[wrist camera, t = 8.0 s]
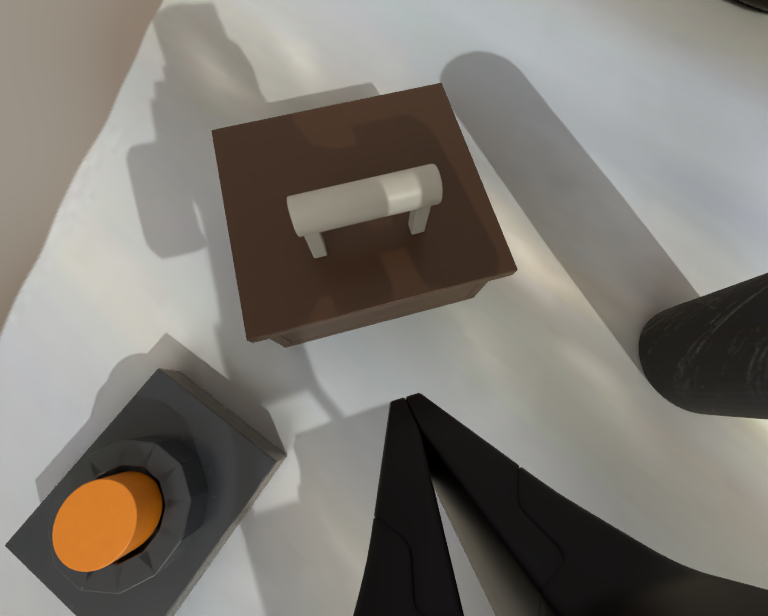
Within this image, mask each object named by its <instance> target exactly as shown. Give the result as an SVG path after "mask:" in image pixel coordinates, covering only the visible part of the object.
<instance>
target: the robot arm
mask: <svg viewBox="0 0 768 616" xmlns="http://www.w3.org/2000/svg"><path fill="white" fill-rule="evenodd" d="M433 486H434V487H433ZM434 488H435V491H436V493H437V495H438V497H439V499H440V501H441V503H442V505H443V507H444V509H445V511H446V513H447V515H448V517H449V519H450V522H451V524H452V526H453V528H454V530H455V532H456V534H457V536H458V538H459V540H460V542H461V544H462V546H463V548H464V551H465V553H466V555H467V557H468V559H469V561H470V563H471V565H472V567H473V569H474V571H475V573H476V575H477V577H478V579H479V582H480V584H481V586H482V588H483V590H484V592H485V594H486V596H487V598H488V600H489V602H490V604H491V606H492V608H493V610H494V613H495V615H496V616H768V590H766V589H762V588H759V587H755V586H751V585H747V584H744V583H740V582H736V581H732V580H728V579H725V578H721V577H717V576H713V575H710V574H706V573H703V572H700V571H697V570H694V569H692V568H689V567H687V566H684V565H682V564H680V563H677V562H675V561H673V560H671V559H669V558H667V557H665V556H663V555H661V554H659V553H657V552H656V551H654V550H652V549H650V548H649V547H647V546H645V545H644V544H642V543H640V542H639V541H637V540H635V539H634V538H632V537H630V536H628V535H627V534H625V533H623V532H622V531H620V530H618V529H617V528H615V527H613V526H612V525H610V524H608V523H607V522H605V521H603V520H602V519H600V518H598V517H597V516H595V515H593V514H592V513H590V512H588V511H586V510H585V509H583V508H582V507H580V506H578V505H577V504H575V503H573V502H572V501H570V500H569V499H567V498H565V497H564V496H562V495H561V494H559V493H557V492H556V491H554V490H553V489H552V488H550V487H549V486H547V485H546V484H544V483H543V482H541V481H540V480H539V479H537V478H536V477H534V476H533V475H532V474H530V473H529V472H528V471H526V470H525V469H523V468H522V467H520V468H519V465H518V464H516V463H515V462H514V461H512V460H511V459H510V458H508V457H507V456H505V455H504V454H503V453H501V452H500V451H499V450H497V449H496V448H495V447H493V446H492V445H490V444H489V443H488V442H486V441H485V440H484V439H482V438H481V437H479V436H478V435H477V434H475V433H474V432H473V431H471V430H470V429H469V428H467V427H466V426H464V425H463V424H462V423H460V422H459V421H458V420H456V419H455V418H453V417H452V416H451V415H449V414H448V413H447V412H445V411H444V410H442V409H441V408H440V407H438V406H437V405H436V404H434V403H433V402H432V401H430V400H429V399H427V398H426V397H425V396H423V395H422V394H420V393H417V394H414V395H410V396H407V397H406V399H405V398H400V399H397V400H394V401H392V402H391V403H390V408H389V415H388V422H387V429H386V436H385V443H384V450H383V457H382V464H381V471H380V478H379V485H378V492H377V500H376V507H375V514H374V516H375V518H374V519H373V526H372V533H371V539H370V545H369V551H368V557H367V562H366V566H365V571H364V575H363V579H362V584H361V588H360V592H359V596H358V600H357V604H356V607H355V611H354V615H353V616H464V614H463V609H462V605H461V601H460V597H459V592H458V588H457V584H456V580H455V575H454V571H453V567H452V563H451V559H450V554H449V550H448V546H447V542H446V537H445V533H444V529H443V525H442V521H441V516H440V512H439V508H438V504H437V499H436V495H435V491H434Z"/></svg>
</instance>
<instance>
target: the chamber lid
mask: <svg viewBox="0 0 768 616" xmlns="http://www.w3.org/2000/svg"><path fill="white" fill-rule="evenodd" d="M212 136H213V142H214V148H215V154H216V160H217V166H218V172H219V178H220V184H221V190H222V196H223V202H224V208H225V213H226V219H227V225H228V231H229V237H230V243H231V249H232V255H233V261H234V267H235V273H236V279H237V285H238V291H239V296H240V302H241V308H242V314H243V320H244V326H245V332H246V338H247V341H249V342H252V343H254V342H258V341H262V340H266V339H269V338H273V337H277V336H281V335H285V334H288V333H292V332H296V331H300V330H304V329H308V328H311V327H315V326H319V325H323V324H327V323H330V322H334V321H338V320H342V319H346V318H350V317H353V316H357V315H361V314H365V313H369V312H372V311H376V310H380V309H384V308H388V307H392V306H395V305H399V304H403V303H407V302H411V301H414V300H418V299H422V298H426V297H430V296H434V295H437V294H441V293H445V292H449V291H453V290H456V289H460V288H464V287H468V286H472V285H476V284H479V283H483V282H487V281H491V280H495V279H498V278H502V277H506V276H510V275H513V274H514V273H515V272H516V271H517V267H516V265H515V262H514V260H513V257H512V255H511V252H510V250H509V247H508V245H507V242H506V240H505V238H504V235H503V233H502V230H501V228H500V225H499V223H498V220H497V218H496V216H495V213H494V211H493V208H492V206H491V203H490V201H489V198H488V196H487V193H486V191H485V189H484V186H483V184H482V181H481V179H480V176H479V174H478V171H477V169H476V167H475V164H474V162H473V159H472V157H471V154H470V152H469V149H468V147H467V145H466V142H465V140H464V137H463V135H462V132H461V130H460V127H459V125H458V122H457V120H456V118H455V115H454V113H453V110H452V108H451V105H450V103H449V100H448V98H447V96H446V93H445V91H444V88H443V86H442V83H438V84H433V85H428V86H423V87H419V88H414V89H409V90H404V91H399V92H394V93H390V94H385V95H380V96H375V97H370V98H365V99H360V100H356V101H351V102H346V103H341V104H336V105H331V106H327V107H322V108H317V109H312V110H307V111H302V112H297V113H293V114H288V115H283V116H278V117H273V118H268V119H264V120H259V121H254V122H249V123H244V124H239V125H235V126H230V127H225V128H220V129H215V130H212Z"/></svg>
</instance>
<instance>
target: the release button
mask: <svg viewBox="0 0 768 616" xmlns="http://www.w3.org/2000/svg"><path fill="white" fill-rule="evenodd" d="M161 513H162V495H161V491H160V489H159V487H158V485H157V483H156V482H155V481H154V480H153V479H152V478H151V477H150V476H148V475H146V474H144V473H142V472H138V471H126V472H122V473H118V474H115V475H111V476H108V477H104V478H100V479H97V480H93V481H90V482H88V483H86V484H84V485H82V486H80V487H79V488H78V489H76V490H75V491H74V492H73V493H72V494H71V495H70V496H69V497H68V498H67V499H66V500H65V502H64V503H63V504H62V506H61V508H60V509H59V511H58V513H57V516H56V519H55V522H54V526H53V536H52V539H53V546H54V549H55V552H56V554H57V556H58V558H59V559H60V560H61V562H62V563H63V564H65V565H66V566H67V567H69V568H71V569H73V570H76V571H81V572H89V571H95V570H99V569H101V568H104V567H106V566H107V565H109V564H111V563H112V562H114V561H116V560H117V559H119V558H121V557H122V556H124V555H126V554H127V553H129V552H131V551H132V550H134V549H136V548H137V547H139V546H140V545H142V544H143V543H144V542H145V541H146V540H147V539H148V538H149V537H150V536H151V535H152V533H153V532H154V530H155V528H156V527H157V525H158V522H159V520H160V517H161Z"/></svg>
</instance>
